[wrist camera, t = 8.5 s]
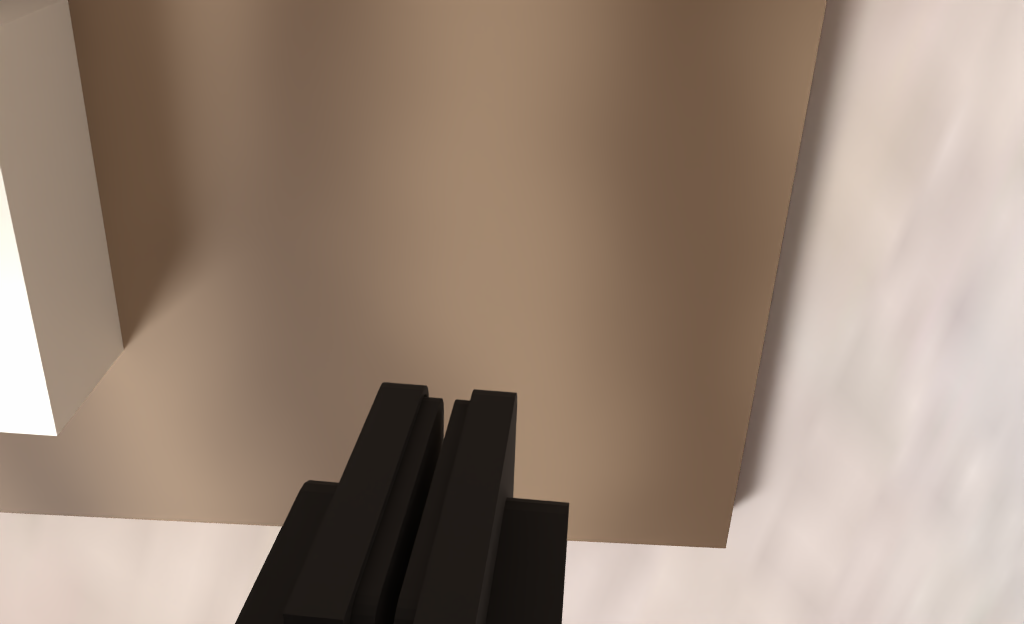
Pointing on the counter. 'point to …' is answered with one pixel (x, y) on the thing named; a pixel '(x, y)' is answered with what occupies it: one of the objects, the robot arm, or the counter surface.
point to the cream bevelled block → (48, 228)
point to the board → (431, 246)
